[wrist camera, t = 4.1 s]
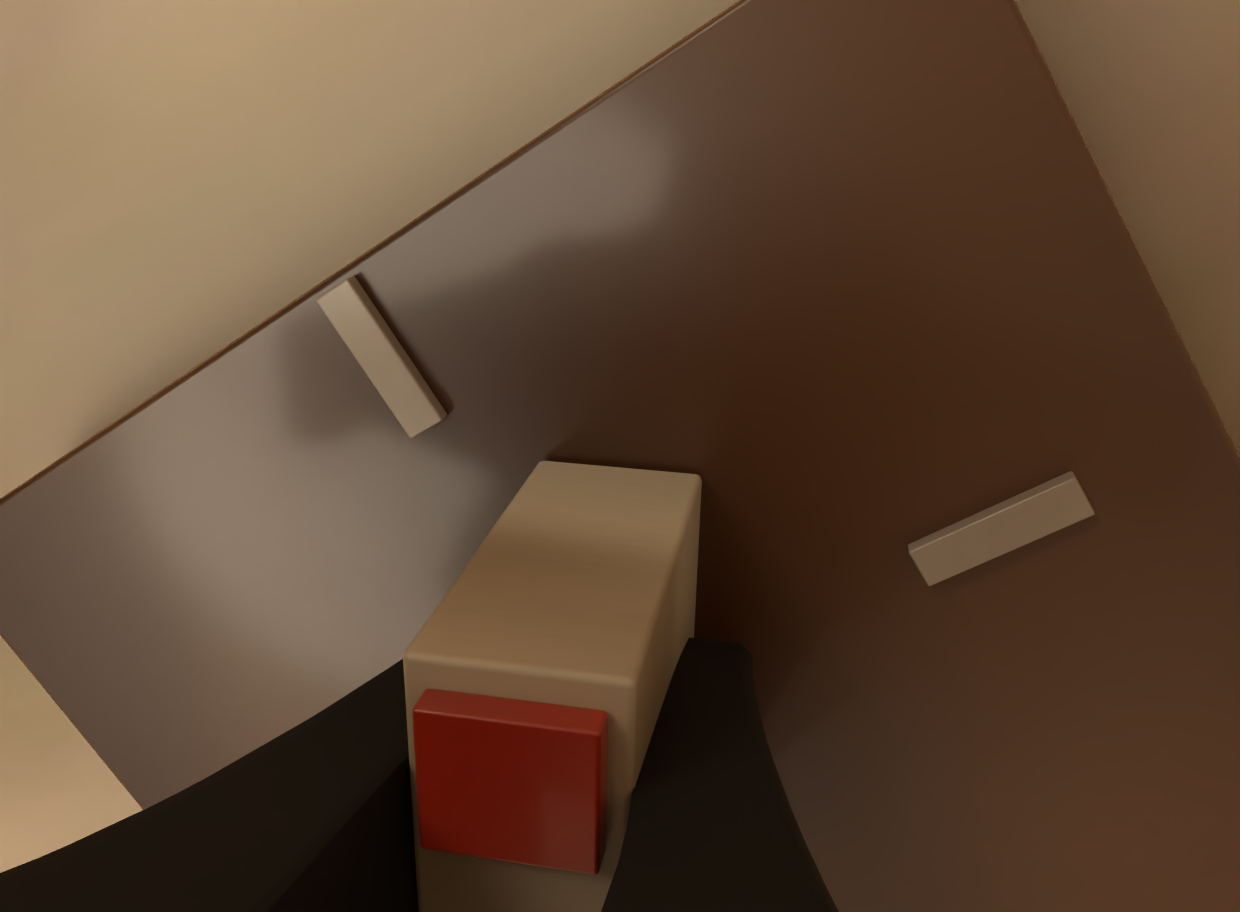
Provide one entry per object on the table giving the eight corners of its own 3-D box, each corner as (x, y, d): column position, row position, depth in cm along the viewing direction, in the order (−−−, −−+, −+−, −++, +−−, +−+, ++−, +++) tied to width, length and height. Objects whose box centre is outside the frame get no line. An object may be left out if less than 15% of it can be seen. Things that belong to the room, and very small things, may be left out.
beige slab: (680, 906, 11) (614, 1269, 8) (542, 884, 11) (422, 1228, 8) (703, 472, 9) (627, 706, 6) (538, 458, 9) (383, 675, 6)
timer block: (481, 1023, 15) (425, 1177, 13) (57, 474, 13) (-87, 554, 11) (1343, 732, 11) (1454, 885, 9) (925, -104, 9) (948, -143, 7)
